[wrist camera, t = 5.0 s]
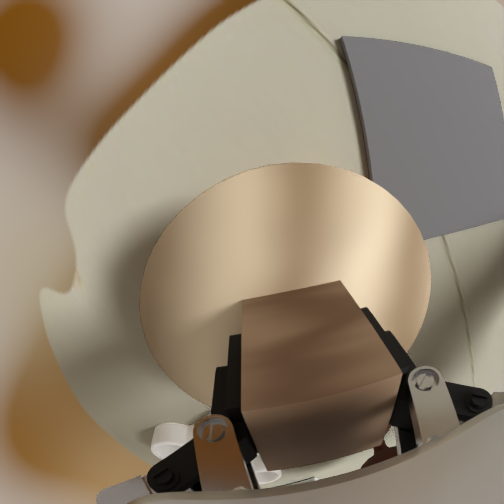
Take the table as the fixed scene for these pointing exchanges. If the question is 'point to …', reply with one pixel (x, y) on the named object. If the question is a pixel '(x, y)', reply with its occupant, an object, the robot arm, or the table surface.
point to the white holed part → (177, 435)
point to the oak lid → (290, 304)
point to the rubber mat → (430, 131)
